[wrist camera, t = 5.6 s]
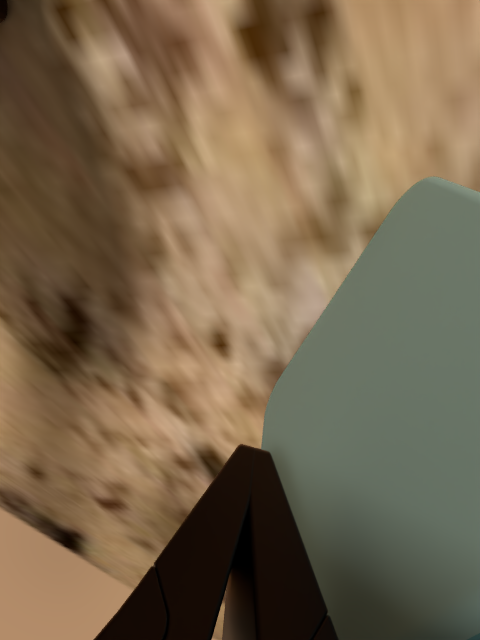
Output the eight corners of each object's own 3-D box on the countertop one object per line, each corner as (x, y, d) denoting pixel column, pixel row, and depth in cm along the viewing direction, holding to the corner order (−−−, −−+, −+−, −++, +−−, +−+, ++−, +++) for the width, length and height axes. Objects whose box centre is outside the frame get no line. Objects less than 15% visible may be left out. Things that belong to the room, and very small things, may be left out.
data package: (341, 432, 19) (403, 811, 9) (264, 397, 19) (228, 751, 8) (522, 225, 13) (1359, 596, 3) (416, 168, 13) (951, 359, 2)
